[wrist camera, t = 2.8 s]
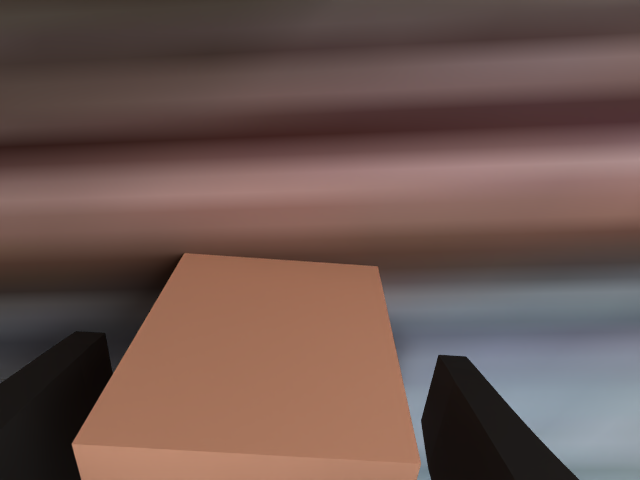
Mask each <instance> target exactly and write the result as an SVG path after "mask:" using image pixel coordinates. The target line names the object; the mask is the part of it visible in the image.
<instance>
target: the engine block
mask: <svg viewBox="0 0 640 480" xmlns="http://www.w3.org/2000/svg"><path fill="white" fill-rule="evenodd" d="M72 447H73V451H74V455H75V458H76V462H77V466H78V469H79V473H80V477H81V480H417V476H418V473H419V469H420V466H421V462H420V457H419V453H418V448H417V443H416V439H415V434H414V430H413V425H412V421H411V416H410V412H409V407H408V402H407V398H406V393H405V389H404V384H403V380H402V375H401V371H400V366H399V361H398V357H397V352H396V348H395V343H394V339H393V334H392V329H391V325H390V320H389V316H388V311H387V307H386V302H385V298H384V293H383V288H382V284H381V279H380V275H379V270H378V266H365V265H350V264H335V263H321V262H306V261H292V260H277V259H263V258H248V257H233V256H219V255H204V254H190V253H184V255H183V256H182V258H181V260H180V261H179V263H178V265H177V266H176V268H175V270H174V272H173V273H172V275H171V277H170V278H169V280H168V282H167V283H166V285H165V287H164V288H163V290H162V292H161V294H160V295H159V297H158V299H157V300H156V302H155V304H154V305H153V307H152V309H151V310H150V312H149V314H148V316H147V317H146V319H145V321H144V322H143V324H142V326H141V327H140V329H139V331H138V332H137V334H136V336H135V338H134V339H133V341H132V343H131V344H130V346H129V348H128V349H127V351H126V353H125V354H124V356H123V358H122V360H121V361H120V363H119V365H118V366H117V368H116V370H115V371H114V373H113V375H112V377H111V378H110V380H109V382H108V383H107V385H106V387H105V388H104V390H103V392H102V393H101V395H100V397H99V399H98V400H97V402H96V404H95V405H94V407H93V409H92V410H91V412H90V414H89V415H88V417H87V419H86V421H85V422H84V424H83V426H82V427H81V429H80V431H79V432H78V434H77V436H76V437H75V439H74V441H73V443H72Z"/></svg>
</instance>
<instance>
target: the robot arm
mask: <svg viewBox="0 0 640 480" xmlns="http://www.w3.org/2000/svg"><path fill="white" fill-rule="evenodd" d="M112 375H113V373H112V368H111V362H110V357H109V351H108V346H107V341H106V335H105V333H95V332H79V331H76V332H74V333H73V334H71V335H70V336H68V337H67V338H65V339H64V340H62V341H61V342H59V343H58V344H56V345H55V346H53V347H52V348H51V349H49V350H48V351H46V352H45V353H43V354H42V355H41V356H39V357H38V358H36V359H35V360H33V361H32V362H31V363H29V364H28V365H26V366H25V367H23V368H22V369H21V370H19V371H18V372H16V373H15V374H13V375H12V376H10V377H9V378H8V379H6V380H5V381H3V382H2V383H0V480H81V477H80V473H79V469H78V466H77V462H76V458H75V455H74V451H73V447H72V443H73V441H74V439H75V437H76V436H77V434H78V432H79V431H80V429H81V427H82V426H83V424H84V422H85V421H86V419H87V417H88V415H89V414H90V412H91V410H92V409H93V407H94V405H95V404H96V402H97V400H98V399H99V397H100V395H101V393H102V392H103V390H104V388H105V387H106V385H107V383H108V382H109V380H110V378H111V377H112ZM421 423H422V430H423V437H424V444H425V451H426V457H427V463H428V469H429V473H430V476H431V480H579V479H578V478H577V477H576V476H575V475H574V474H573V473H572V472H571V471H570V470H569V469H568V468H567V467H566V466H565V465H564V464H563V463H562V462H561V461H560V460H559V459H558V458H557V457H556V456H555V455H554V454H553V453H552V452H551V451H550V450H549V449H548V448H547V446H546V445H545V444H544V443H543V442H542V441H541V440H540V439H539V438H538V437H537V436H536V435H535V434H534V433H533V432H532V430H531V429H530V428H529V427H528V426H527V425H526V424H525V423H524V422H523V421H522V420H521V418H520V417H519V416H518V415H517V414H516V413H515V412H514V411H513V409H512V408H511V407H510V406H509V405H508V404H507V403H506V402H505V400H504V399H503V398H502V397H501V396H500V395H499V394H498V392H497V391H496V390H495V389H494V388H493V387H492V386H491V384H490V383H489V382H488V381H487V380H486V379H485V377H484V376H483V375H482V374H481V373H480V372H479V371H478V369H477V368H476V367H475V366H474V365H473V364H472V363H471V361H470V360H469V359H468V358H467V357H464V356H449V355H438V359H437V363H436V366H435V370H434V374H433V378H432V381H431V385H430V389H429V393H428V397H427V400H426V404H425V408H424V412H423V415H422V419H421Z"/></svg>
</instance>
